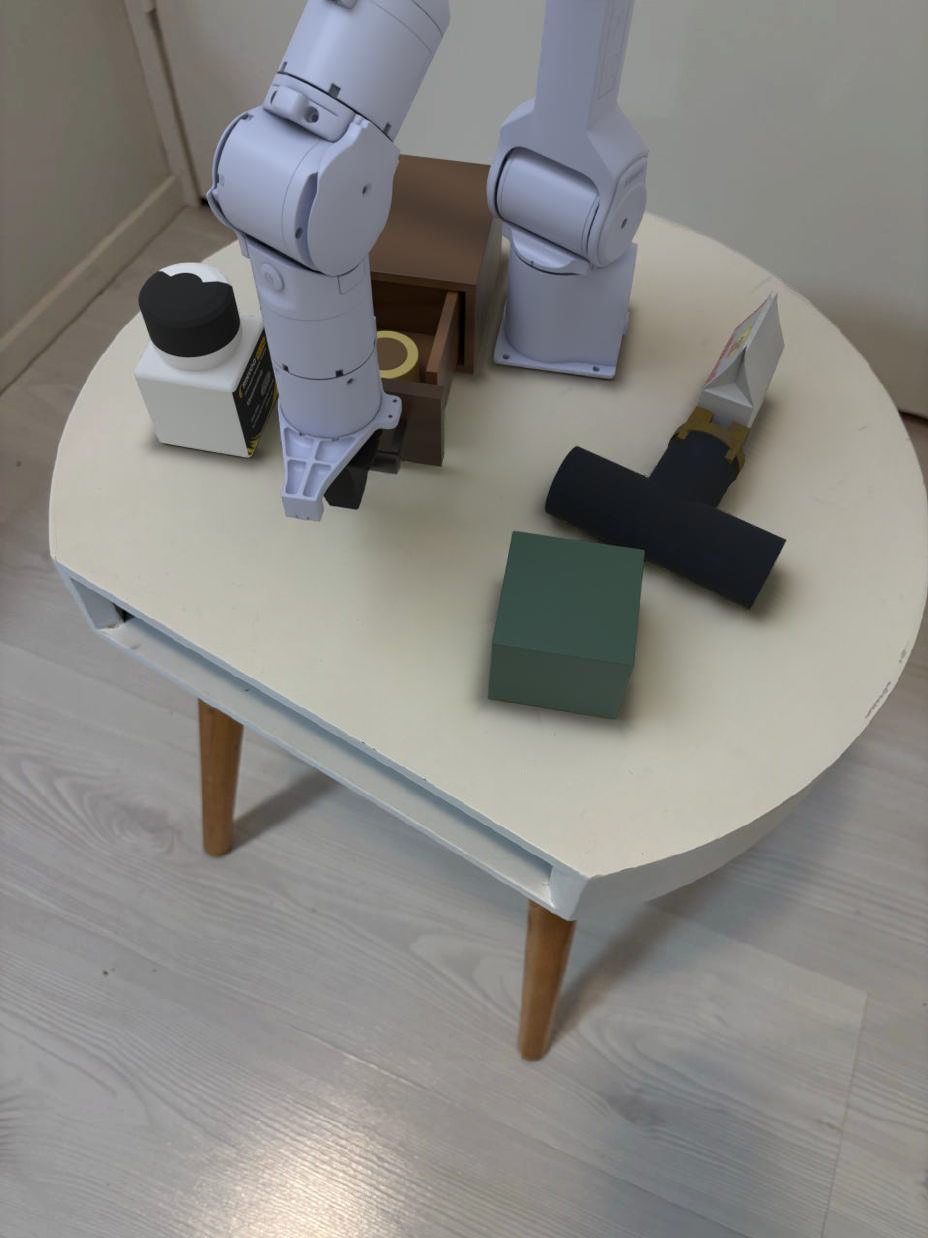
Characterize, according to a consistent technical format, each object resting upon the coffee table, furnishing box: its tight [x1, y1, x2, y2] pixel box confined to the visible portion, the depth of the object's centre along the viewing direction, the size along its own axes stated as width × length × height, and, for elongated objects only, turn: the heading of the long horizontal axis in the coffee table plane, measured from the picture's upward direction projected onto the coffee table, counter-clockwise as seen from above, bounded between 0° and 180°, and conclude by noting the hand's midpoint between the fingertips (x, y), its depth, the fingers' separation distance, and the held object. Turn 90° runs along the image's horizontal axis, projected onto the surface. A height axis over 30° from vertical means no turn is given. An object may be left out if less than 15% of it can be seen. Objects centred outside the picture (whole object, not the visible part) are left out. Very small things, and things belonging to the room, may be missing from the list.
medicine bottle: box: [133, 262, 279, 458], centre depth 67 cm, size 7×7×12 cm
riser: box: [487, 530, 645, 720], centre depth 59 cm, size 8×8×7 cm
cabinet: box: [368, 153, 503, 376], centre depth 75 cm, size 14×12×9 cm
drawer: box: [369, 280, 463, 475], centre depth 68 cm, size 17×10×7 cm, turn 170°
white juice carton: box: [696, 289, 786, 431], centre depth 68 cm, size 4×7×10 cm, turn 152°
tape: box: [376, 331, 420, 383], centre depth 70 cm, size 5×5×3 cm
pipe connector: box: [544, 405, 787, 610], centre depth 65 cm, size 12×5×15 cm
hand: (345, 499), depth 63 cm, fingers closed
